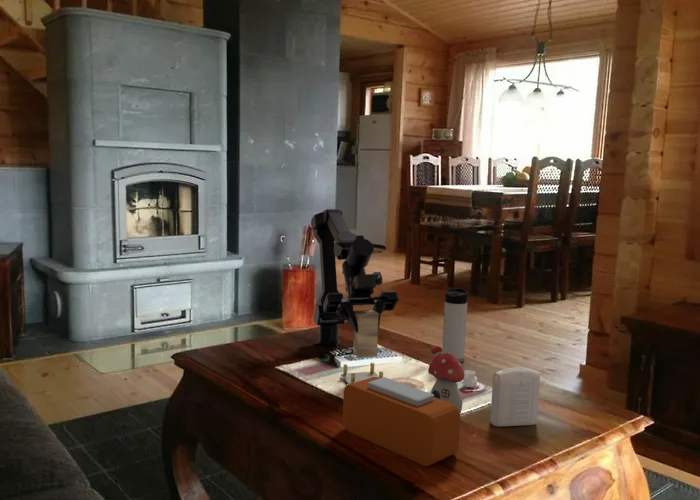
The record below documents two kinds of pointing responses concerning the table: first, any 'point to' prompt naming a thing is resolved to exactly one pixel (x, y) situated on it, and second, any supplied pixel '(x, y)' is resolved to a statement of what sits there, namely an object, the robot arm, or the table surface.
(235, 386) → the table surface
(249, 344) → the table surface
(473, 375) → the teacup and saucer
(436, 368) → the decorative ornament
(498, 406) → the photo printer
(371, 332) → the wooden block
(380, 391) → the alarm clock
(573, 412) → the table surface
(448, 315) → the travel mug
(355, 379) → the pin base
